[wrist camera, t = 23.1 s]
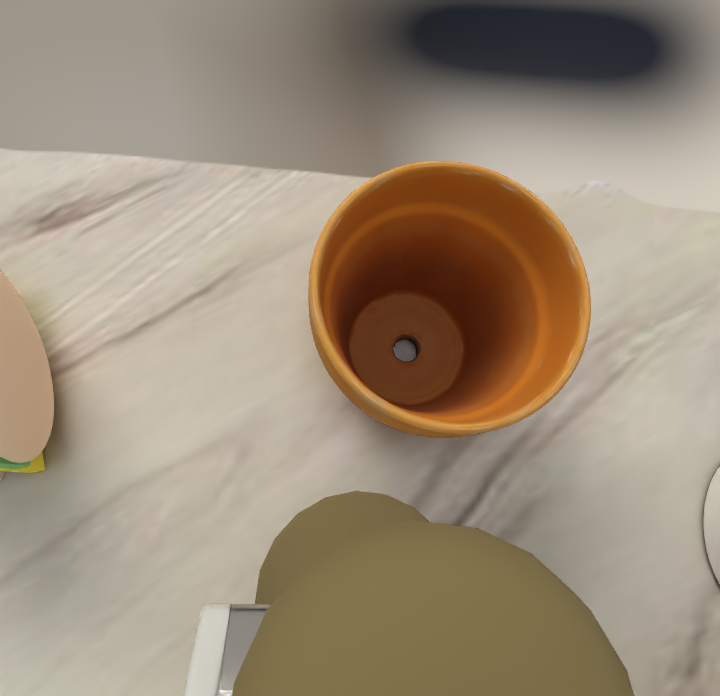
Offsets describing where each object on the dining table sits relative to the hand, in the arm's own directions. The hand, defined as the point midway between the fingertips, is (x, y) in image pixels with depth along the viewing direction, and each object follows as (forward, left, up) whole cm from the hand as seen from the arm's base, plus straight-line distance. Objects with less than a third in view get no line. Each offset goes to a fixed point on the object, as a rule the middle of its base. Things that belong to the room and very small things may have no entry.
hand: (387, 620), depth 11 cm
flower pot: (-7, -11, -27) cm, 30 cm away
